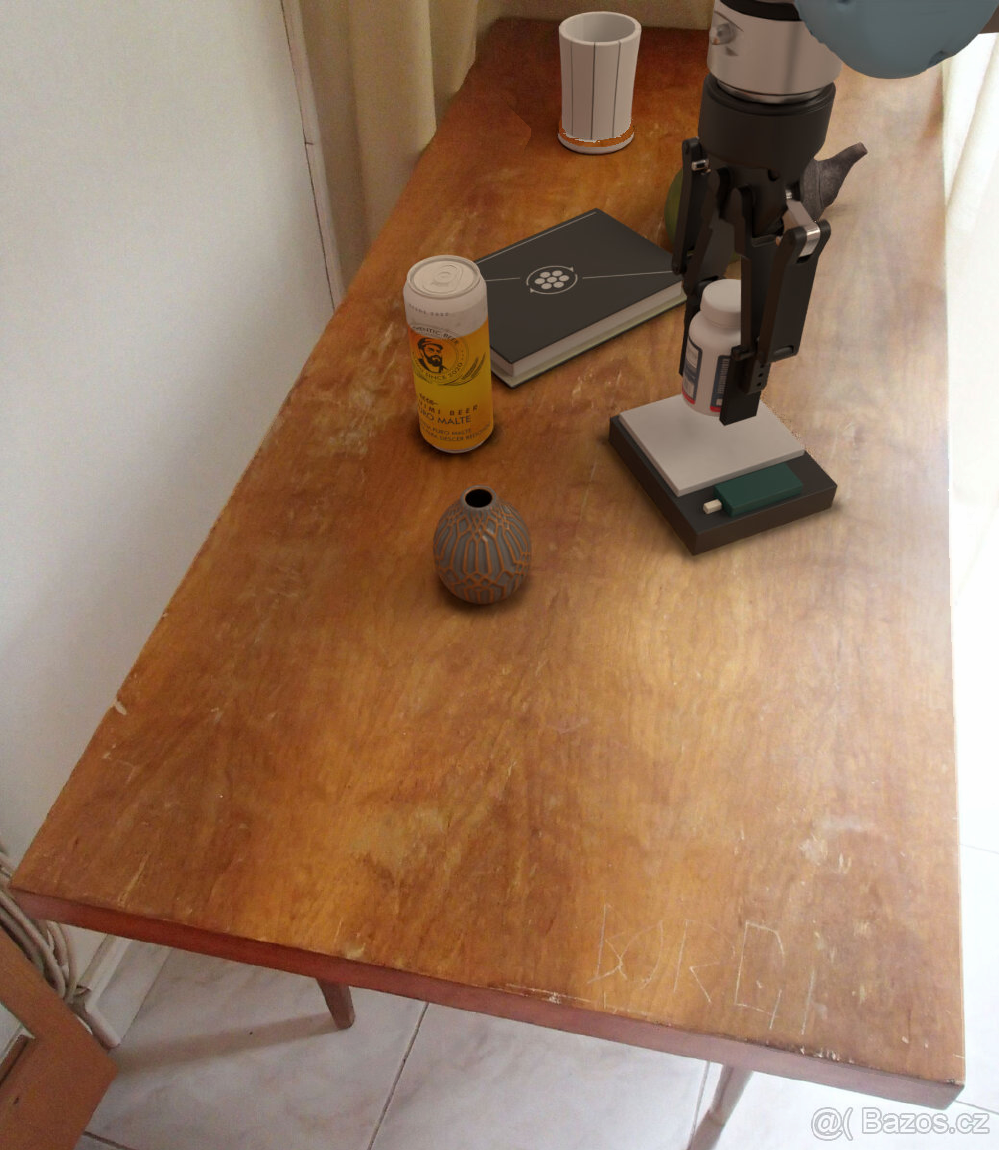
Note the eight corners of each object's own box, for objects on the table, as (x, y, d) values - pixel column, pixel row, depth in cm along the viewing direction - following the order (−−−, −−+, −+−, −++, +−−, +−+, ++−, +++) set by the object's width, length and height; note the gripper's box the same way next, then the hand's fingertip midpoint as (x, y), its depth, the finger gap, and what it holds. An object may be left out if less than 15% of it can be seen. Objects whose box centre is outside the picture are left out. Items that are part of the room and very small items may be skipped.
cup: (537, 124, 117) (537, 16, 108) (605, 107, 120) (610, -1, 110) (579, 163, 111) (582, 51, 102) (649, 144, 113) (659, 33, 104)
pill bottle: (763, 388, 75) (784, 287, 68) (733, 428, 72) (753, 326, 65) (699, 366, 77) (714, 265, 70) (668, 403, 74) (680, 302, 67)
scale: (831, 507, 76) (841, 475, 73) (693, 556, 73) (698, 524, 70) (734, 399, 84) (740, 367, 81) (608, 439, 81) (610, 407, 79)
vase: (533, 618, 70) (532, 534, 63) (435, 620, 70) (424, 537, 63) (530, 545, 74) (529, 459, 67) (438, 547, 74) (428, 462, 68)
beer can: (410, 449, 81) (388, 292, 70) (436, 403, 85) (419, 246, 74) (479, 463, 80) (469, 305, 69) (503, 416, 84) (496, 258, 72)
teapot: (858, 250, 98) (884, 153, 90) (700, 246, 100) (713, 149, 92) (837, 157, 110) (859, 64, 102) (697, 154, 112) (708, 62, 104)
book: (593, 233, 102) (595, 205, 99) (694, 298, 94) (698, 270, 91) (418, 311, 94) (414, 284, 91) (511, 390, 86) (510, 362, 84)
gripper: (637, 30, 61) (616, 339, 79) (806, 161, 50) (737, 487, 68) (742, 7, 63) (698, 315, 81) (928, 129, 52) (830, 455, 70)
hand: (716, 393), depth 74 cm, fingers closed on pill bottle, 5 cm apart
